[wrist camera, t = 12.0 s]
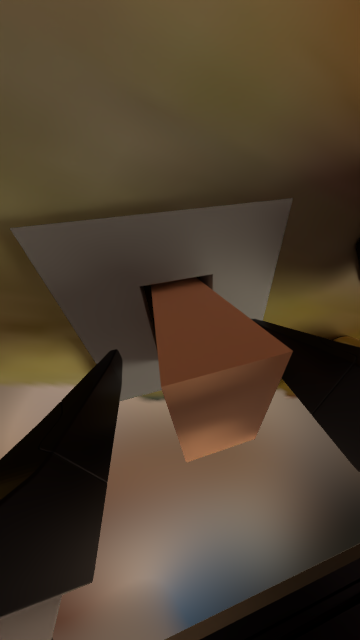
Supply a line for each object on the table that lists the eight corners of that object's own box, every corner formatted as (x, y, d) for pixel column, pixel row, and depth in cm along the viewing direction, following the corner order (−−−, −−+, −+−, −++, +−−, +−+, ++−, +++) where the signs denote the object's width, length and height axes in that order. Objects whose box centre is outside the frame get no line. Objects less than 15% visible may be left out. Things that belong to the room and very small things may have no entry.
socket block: (261, 207, 10) (296, 197, 7) (238, 350, 17) (252, 367, 15) (45, 231, 8) (5, 227, 6) (123, 378, 15) (119, 403, 13)
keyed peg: (197, 333, 14) (254, 438, 7) (164, 340, 14) (186, 462, 6) (193, 275, 11) (293, 350, 4) (150, 283, 11) (161, 387, 3)
